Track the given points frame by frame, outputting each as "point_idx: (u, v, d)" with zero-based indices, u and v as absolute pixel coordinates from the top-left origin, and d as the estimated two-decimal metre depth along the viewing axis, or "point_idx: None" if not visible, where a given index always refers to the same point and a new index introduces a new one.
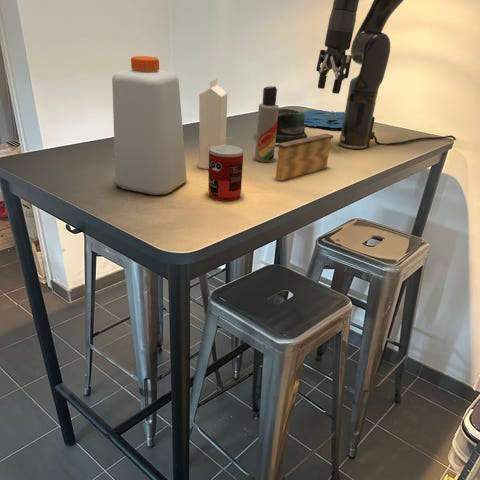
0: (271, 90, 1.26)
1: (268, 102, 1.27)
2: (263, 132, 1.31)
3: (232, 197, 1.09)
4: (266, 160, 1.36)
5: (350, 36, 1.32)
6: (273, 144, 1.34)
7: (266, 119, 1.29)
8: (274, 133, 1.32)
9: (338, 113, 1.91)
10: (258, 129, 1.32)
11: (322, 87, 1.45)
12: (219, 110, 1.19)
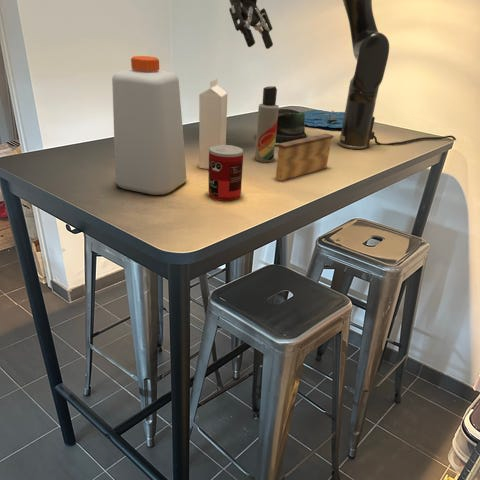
0: (271, 90, 1.26)
1: (268, 102, 1.27)
2: (263, 132, 1.31)
3: (232, 197, 1.09)
4: (266, 160, 1.36)
5: None
6: (273, 144, 1.34)
7: (266, 119, 1.29)
8: (274, 133, 1.32)
9: (338, 113, 1.91)
10: (258, 129, 1.32)
11: (269, 45, 1.30)
12: (219, 110, 1.19)
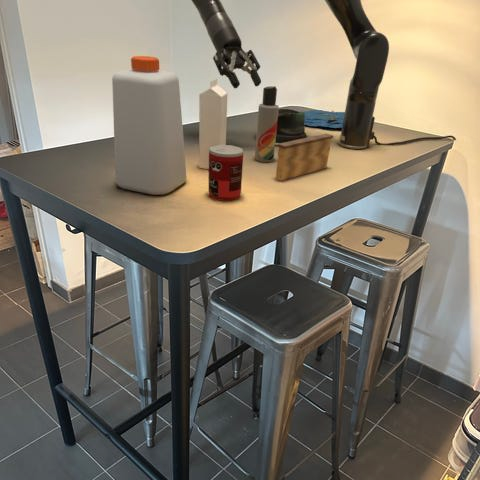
0: (271, 90, 1.26)
1: (268, 102, 1.27)
2: (263, 132, 1.31)
3: (232, 197, 1.09)
4: (266, 160, 1.36)
5: (219, 34, 1.29)
6: (273, 144, 1.34)
7: (266, 119, 1.29)
8: (274, 133, 1.32)
9: (338, 113, 1.91)
10: (258, 129, 1.32)
11: (257, 82, 1.34)
12: (219, 110, 1.19)
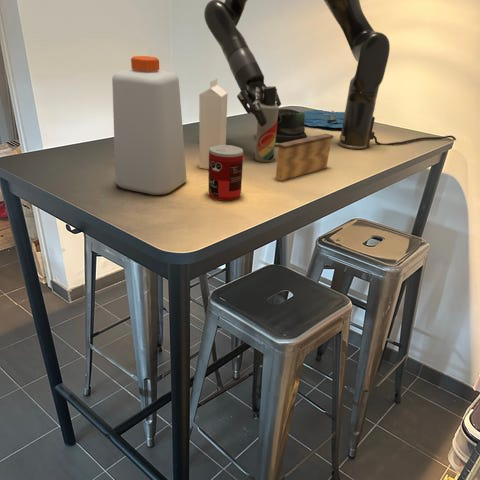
0: (271, 90, 1.26)
1: (268, 102, 1.27)
2: (263, 132, 1.31)
3: (232, 197, 1.09)
4: (266, 160, 1.36)
5: (242, 71, 1.28)
6: (273, 144, 1.34)
7: (266, 119, 1.29)
8: (274, 133, 1.32)
9: (338, 113, 1.91)
10: (258, 129, 1.32)
11: (278, 120, 1.32)
12: (219, 110, 1.19)
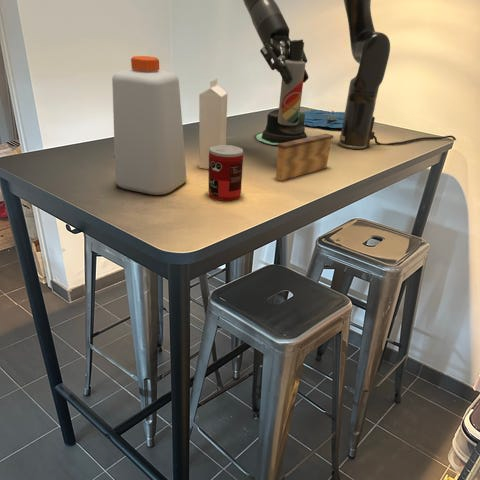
0: (298, 43, 1.14)
1: (294, 57, 1.16)
2: (288, 91, 1.20)
3: (232, 197, 1.09)
4: (290, 123, 1.24)
5: (266, 22, 1.16)
6: (298, 105, 1.23)
7: (292, 76, 1.18)
8: (300, 93, 1.21)
9: (338, 113, 1.91)
10: (282, 88, 1.21)
11: (304, 78, 1.21)
12: (219, 110, 1.19)
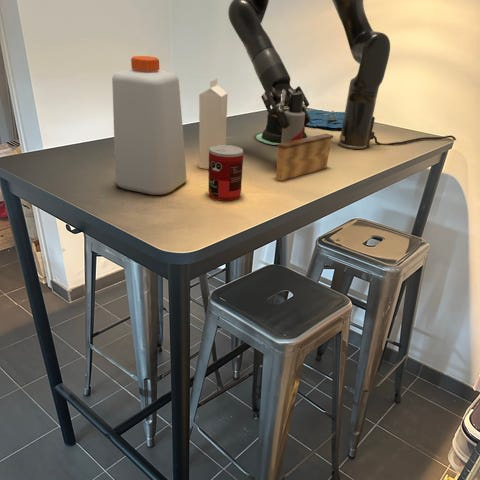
0: (298, 96, 1.20)
1: (294, 109, 1.22)
2: (288, 140, 1.26)
3: (232, 197, 1.09)
4: None
5: (268, 72, 1.21)
6: None
7: (292, 127, 1.23)
8: None
9: (338, 113, 1.91)
10: (283, 137, 1.26)
11: (306, 121, 1.27)
12: (219, 110, 1.19)
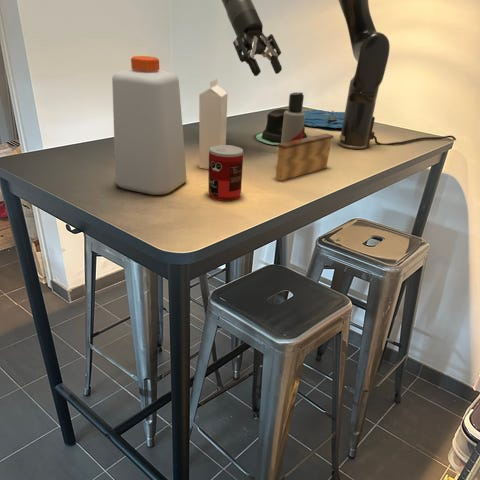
0: (298, 96, 1.20)
1: (294, 109, 1.22)
2: (288, 140, 1.26)
3: (232, 197, 1.09)
4: None
5: (240, 18, 1.23)
6: None
7: (292, 127, 1.23)
8: None
9: (338, 113, 1.91)
10: (283, 137, 1.26)
11: (278, 70, 1.29)
12: (219, 110, 1.19)
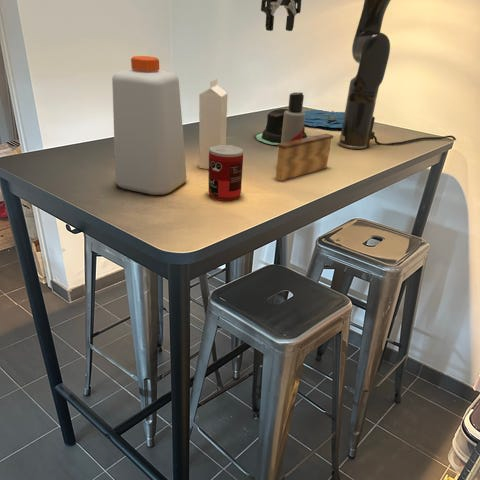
0: (298, 96, 1.20)
1: (294, 109, 1.22)
2: (288, 140, 1.26)
3: (232, 197, 1.09)
4: None
5: None
6: None
7: (292, 127, 1.23)
8: None
9: (338, 113, 1.91)
10: (283, 137, 1.26)
11: (289, 29, 1.36)
12: (219, 110, 1.19)
